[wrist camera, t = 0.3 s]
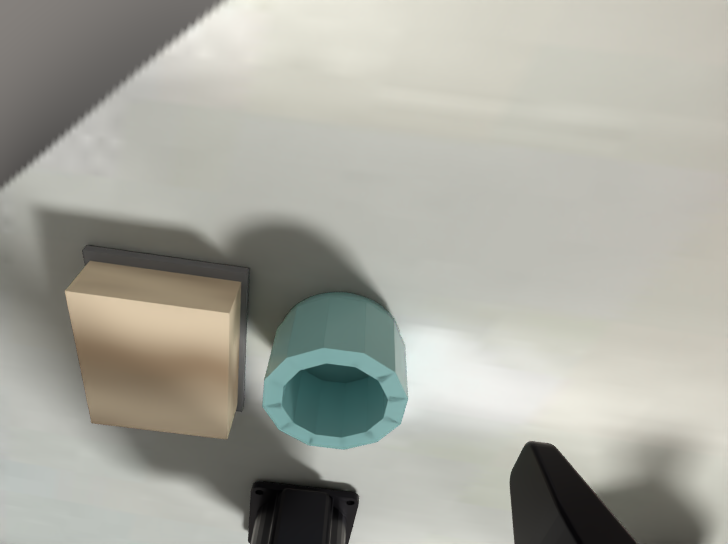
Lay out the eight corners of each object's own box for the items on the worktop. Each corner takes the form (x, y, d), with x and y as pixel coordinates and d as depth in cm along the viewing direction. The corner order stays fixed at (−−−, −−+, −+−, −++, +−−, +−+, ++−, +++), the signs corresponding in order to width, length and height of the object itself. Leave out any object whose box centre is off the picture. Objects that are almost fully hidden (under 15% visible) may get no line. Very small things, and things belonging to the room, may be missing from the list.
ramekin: (390, 390, 28) (391, 455, 24) (274, 375, 27) (260, 439, 24) (413, 299, 24) (419, 360, 21) (282, 280, 24) (267, 340, 21)
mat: (243, 406, 28) (241, 411, 28) (110, 389, 28) (106, 395, 28) (249, 268, 23) (247, 273, 23) (86, 245, 23) (82, 250, 23)
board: (237, 404, 28) (227, 439, 26) (110, 388, 27) (91, 423, 26) (241, 281, 23) (229, 313, 22) (90, 260, 23) (64, 291, 21)
